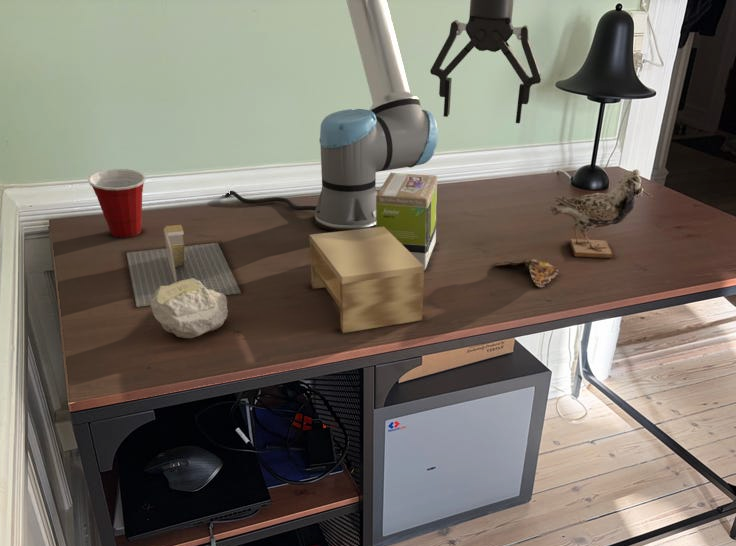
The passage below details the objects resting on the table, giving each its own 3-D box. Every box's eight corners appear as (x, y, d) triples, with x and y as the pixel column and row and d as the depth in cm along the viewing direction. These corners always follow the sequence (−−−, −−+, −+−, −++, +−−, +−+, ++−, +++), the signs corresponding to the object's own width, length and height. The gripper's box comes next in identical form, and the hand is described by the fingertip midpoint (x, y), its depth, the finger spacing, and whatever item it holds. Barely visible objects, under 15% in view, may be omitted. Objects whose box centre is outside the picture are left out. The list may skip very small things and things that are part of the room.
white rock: (243, 321, 122) (191, 316, 125) (236, 273, 119) (183, 269, 122) (202, 350, 112) (146, 343, 115) (194, 298, 108) (136, 292, 111)
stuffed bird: (645, 256, 154) (662, 175, 146) (559, 263, 149) (570, 179, 140) (621, 238, 162) (635, 161, 154) (538, 245, 157) (548, 165, 148)
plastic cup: (110, 246, 147) (99, 187, 140) (90, 230, 153) (79, 173, 147) (163, 235, 153) (154, 178, 147) (141, 220, 160) (132, 165, 154)
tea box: (389, 239, 156) (390, 170, 149) (436, 243, 155) (439, 174, 148) (375, 267, 143) (375, 193, 136) (426, 271, 142) (429, 197, 135)
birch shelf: (343, 333, 120) (341, 277, 115) (311, 286, 135) (309, 234, 130) (422, 320, 125) (424, 266, 120) (383, 276, 140) (383, 226, 135)
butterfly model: (539, 288, 138) (540, 273, 136) (494, 266, 146) (495, 251, 144) (570, 277, 143) (572, 263, 141) (524, 257, 151) (526, 243, 149)
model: (185, 260, 142) (180, 222, 139) (193, 282, 134) (188, 242, 130) (168, 262, 141) (162, 224, 137) (175, 284, 133) (169, 244, 129)
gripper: (418, -11, 126) (413, 116, 137) (564, 0, 123) (547, 129, 134) (425, -14, 132) (420, 108, 143) (565, -4, 130) (548, 119, 141)
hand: (482, 118), depth 139 cm, fingers open, 13 cm apart
